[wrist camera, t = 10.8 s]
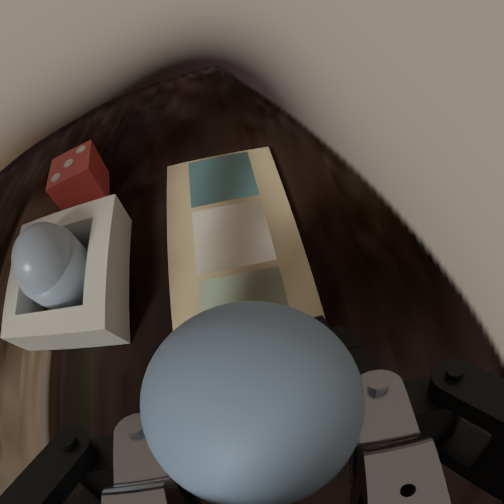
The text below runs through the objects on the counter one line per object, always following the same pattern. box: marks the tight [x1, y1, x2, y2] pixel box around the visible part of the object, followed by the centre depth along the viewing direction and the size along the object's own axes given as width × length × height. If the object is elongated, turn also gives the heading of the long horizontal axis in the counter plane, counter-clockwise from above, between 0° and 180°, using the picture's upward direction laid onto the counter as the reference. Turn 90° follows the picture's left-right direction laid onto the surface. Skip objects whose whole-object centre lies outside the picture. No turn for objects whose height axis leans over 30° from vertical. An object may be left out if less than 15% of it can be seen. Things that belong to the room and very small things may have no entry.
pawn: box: [140, 301, 365, 504], centre depth 8 cm, size 5×5×11 cm
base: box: [0, 194, 132, 351], centre depth 16 cm, size 9×9×3 cm
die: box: [45, 140, 110, 211], centre depth 20 cm, size 4×4×4 cm
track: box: [167, 147, 326, 331], centre depth 17 cm, size 8×20×1 cm, turn 11°
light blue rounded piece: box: [11, 222, 88, 310], centre depth 14 cm, size 5×5×6 cm
